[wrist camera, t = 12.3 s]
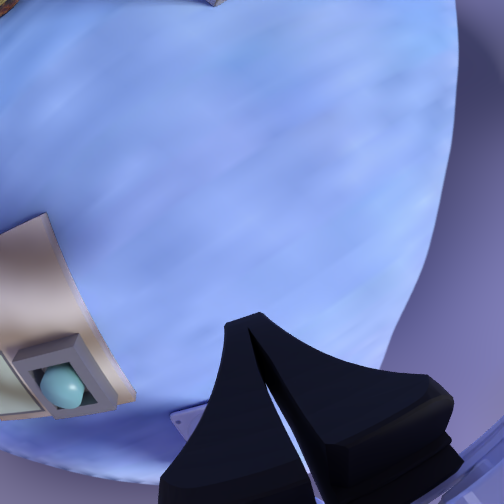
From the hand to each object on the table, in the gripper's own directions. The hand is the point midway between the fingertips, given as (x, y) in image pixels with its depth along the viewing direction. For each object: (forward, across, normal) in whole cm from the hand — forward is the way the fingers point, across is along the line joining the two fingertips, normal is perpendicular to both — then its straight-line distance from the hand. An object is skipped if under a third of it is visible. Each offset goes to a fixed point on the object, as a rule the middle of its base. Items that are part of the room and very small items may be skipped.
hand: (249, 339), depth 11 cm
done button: (+8, +14, +5) cm, 17 cm away
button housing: (+8, +14, +5) cm, 17 cm away
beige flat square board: (+9, +18, +2) cm, 20 cm away
